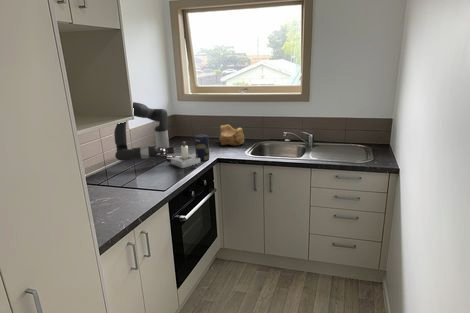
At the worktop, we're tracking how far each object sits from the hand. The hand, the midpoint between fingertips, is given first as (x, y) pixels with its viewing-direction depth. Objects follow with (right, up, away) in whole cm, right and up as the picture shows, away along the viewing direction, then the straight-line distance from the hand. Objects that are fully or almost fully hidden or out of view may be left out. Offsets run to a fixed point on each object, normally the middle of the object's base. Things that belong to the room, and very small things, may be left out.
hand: (173, 150), depth 217 cm
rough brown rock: (+35, +5, +54) cm, 64 cm away
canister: (+18, -6, +13) cm, 23 cm away
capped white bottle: (+7, -9, +4) cm, 12 cm away
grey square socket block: (+7, -9, +4) cm, 12 cm away
